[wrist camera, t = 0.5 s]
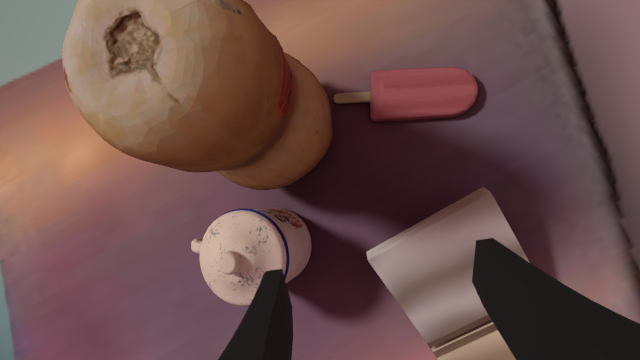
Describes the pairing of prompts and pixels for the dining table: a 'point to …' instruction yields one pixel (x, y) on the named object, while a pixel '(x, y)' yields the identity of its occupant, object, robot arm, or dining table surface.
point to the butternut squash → (196, 89)
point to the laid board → (475, 345)
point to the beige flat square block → (442, 265)
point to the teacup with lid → (251, 250)
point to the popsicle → (416, 94)
